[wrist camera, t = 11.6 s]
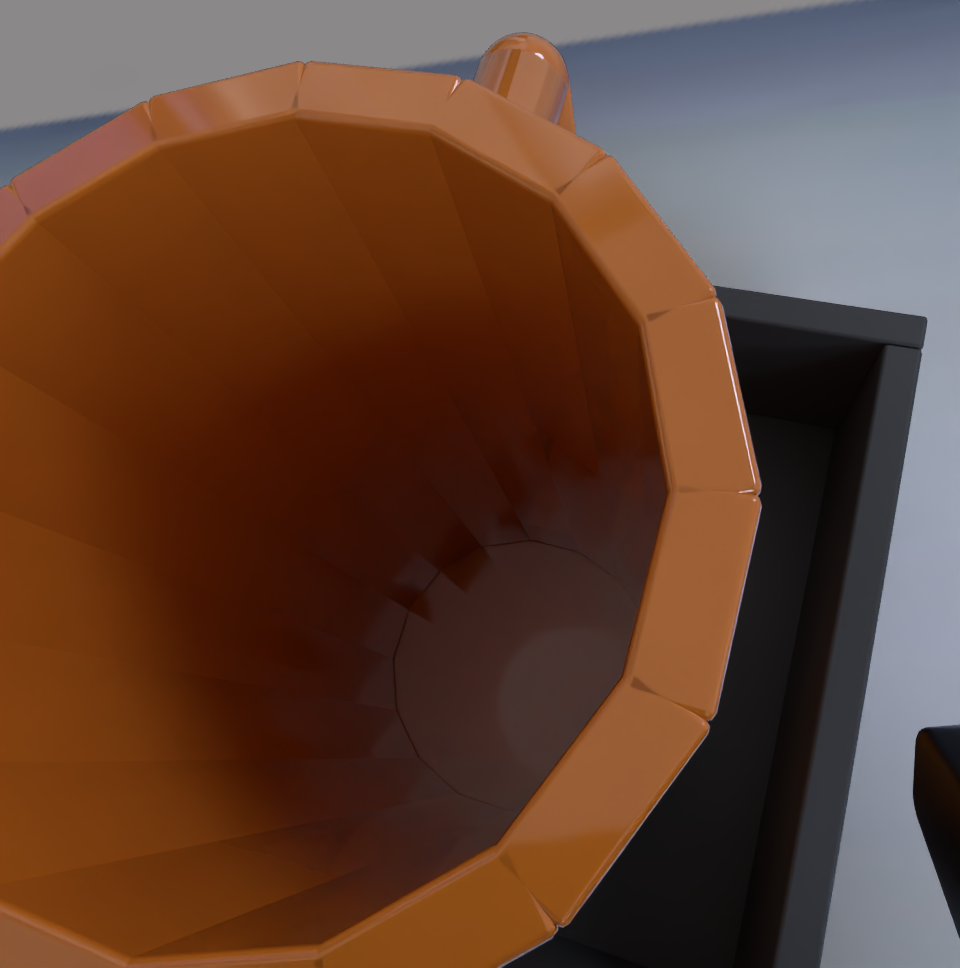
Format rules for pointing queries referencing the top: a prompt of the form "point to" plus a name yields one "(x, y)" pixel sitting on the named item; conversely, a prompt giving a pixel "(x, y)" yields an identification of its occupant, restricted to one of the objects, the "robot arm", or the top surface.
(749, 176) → the top surface
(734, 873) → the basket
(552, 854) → the tall orange mug
